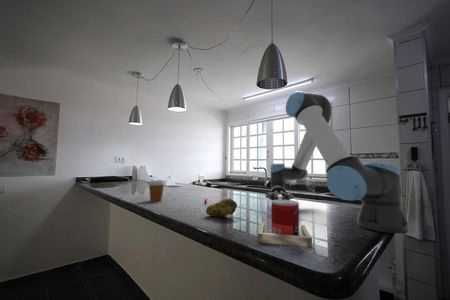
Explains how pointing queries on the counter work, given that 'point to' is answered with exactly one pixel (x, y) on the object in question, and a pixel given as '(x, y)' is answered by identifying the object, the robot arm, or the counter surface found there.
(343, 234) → the counter surface
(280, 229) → the canned food
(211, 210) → the potato
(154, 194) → the disposable coffee cup
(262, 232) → the shallow beige tray
